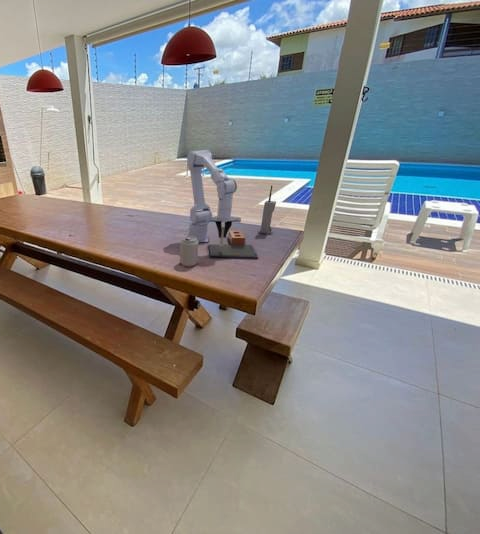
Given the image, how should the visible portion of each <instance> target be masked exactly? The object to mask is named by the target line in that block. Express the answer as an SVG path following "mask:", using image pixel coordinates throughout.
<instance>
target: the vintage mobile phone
mask: <svg viewBox="0 0 480 534" xmlns="http://www.w3.org/2000/svg"><path fill="white" fill-rule="evenodd" d="M272 191H273V185H272V184H271V185H270V190H269V196H268V200H265V202H264V204H263V205H264V206H263V210H262V217H261V218H262V219H261V224H260V231H259V232H260V234H264V235H265V234H266V235H270V234H271V233H272V228H271V224H272V219H273V218H272V217H273V213H274V211H275V208H276V204H277V201H275V200H271V199H272Z"/></svg>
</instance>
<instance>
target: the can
mask: <svg viewBox="0 0 480 534" xmlns="http://www.w3.org/2000/svg"><path fill="white" fill-rule="evenodd" d="M199 244H200V242H198V240H197V238H196V237H193V236H188V235H185V236H183V237H181V239H180V247H179V263H180V264H181V265H182V266H184V267H193V266H195V265H197V264H198V258H199Z"/></svg>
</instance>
